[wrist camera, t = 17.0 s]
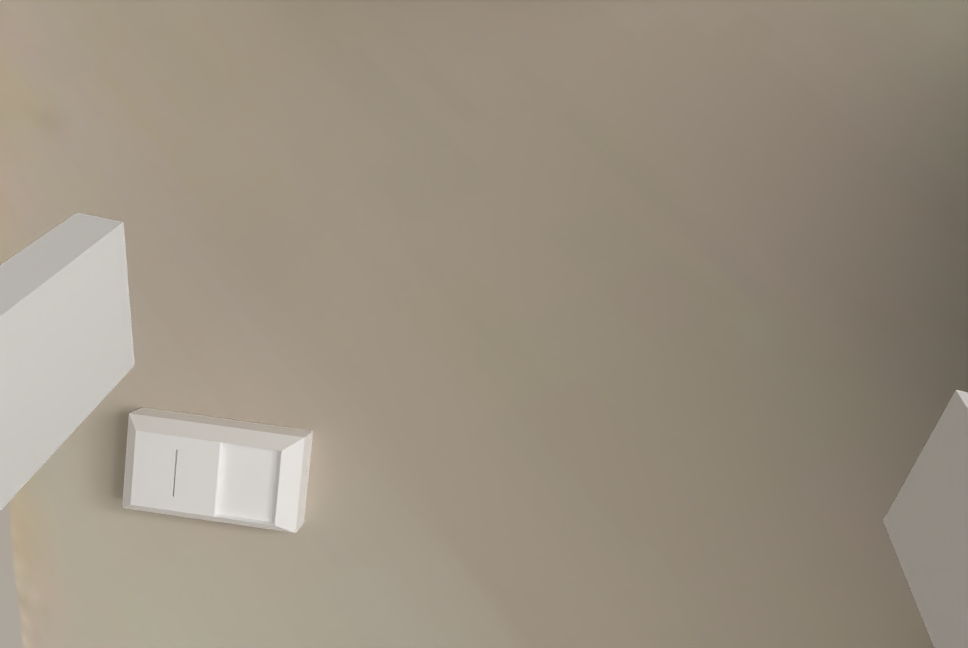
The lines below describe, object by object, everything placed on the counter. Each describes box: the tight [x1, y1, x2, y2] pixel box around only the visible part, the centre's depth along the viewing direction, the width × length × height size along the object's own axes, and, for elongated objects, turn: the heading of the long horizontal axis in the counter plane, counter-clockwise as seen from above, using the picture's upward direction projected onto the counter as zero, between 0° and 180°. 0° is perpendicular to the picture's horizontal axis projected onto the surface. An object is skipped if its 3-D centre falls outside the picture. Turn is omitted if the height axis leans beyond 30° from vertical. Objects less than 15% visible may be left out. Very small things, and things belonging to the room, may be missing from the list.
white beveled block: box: [122, 407, 313, 533], centre depth 42 cm, size 5×9×3 cm, turn 83°
